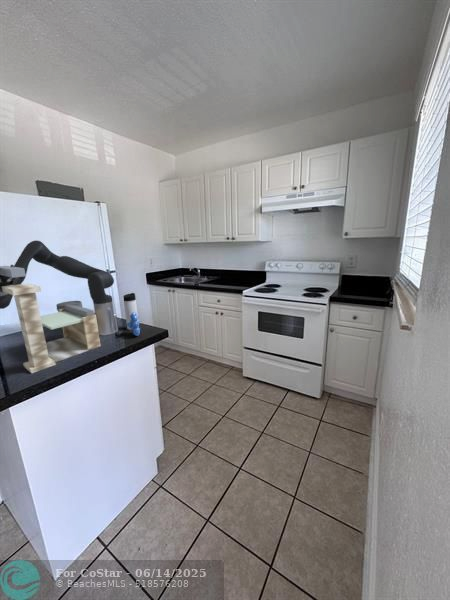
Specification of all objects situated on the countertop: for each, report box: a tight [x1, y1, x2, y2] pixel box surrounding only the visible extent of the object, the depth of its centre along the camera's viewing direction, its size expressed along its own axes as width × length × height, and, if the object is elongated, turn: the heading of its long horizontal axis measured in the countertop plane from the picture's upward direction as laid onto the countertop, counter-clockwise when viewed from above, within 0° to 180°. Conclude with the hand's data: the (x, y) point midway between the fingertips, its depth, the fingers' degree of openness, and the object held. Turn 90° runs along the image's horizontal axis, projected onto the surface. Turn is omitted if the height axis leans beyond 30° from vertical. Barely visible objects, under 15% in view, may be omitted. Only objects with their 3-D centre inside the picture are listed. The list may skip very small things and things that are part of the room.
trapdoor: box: [40, 304, 95, 331], centre depth 111 cm, size 17×24×4 cm
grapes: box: [126, 312, 141, 337], centre depth 125 cm, size 12×7×12 cm, turn 30°
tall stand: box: [2, 283, 57, 374], centre depth 94 cm, size 8×14×32 cm, turn 54°
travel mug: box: [122, 292, 140, 331], centre depth 135 cm, size 6×7×20 cm
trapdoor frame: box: [46, 308, 102, 363], centre depth 112 cm, size 18×27×16 cm
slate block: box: [0, 265, 27, 278], centre depth 95 cm, size 4×24×3 cm, turn 54°
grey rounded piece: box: [56, 300, 83, 312], centre depth 138 cm, size 13×13×15 cm
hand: (5, 267), depth 97 cm, fingers closed on slate block, 4 cm apart
